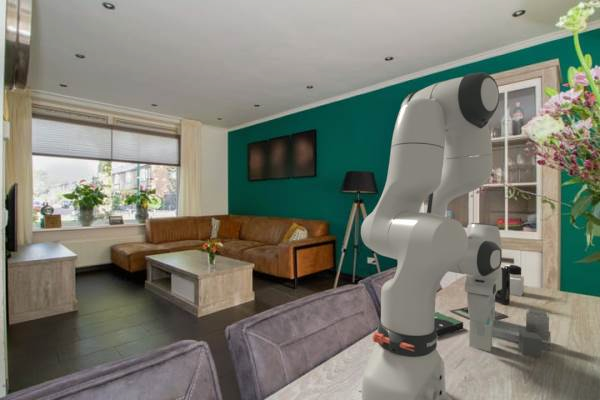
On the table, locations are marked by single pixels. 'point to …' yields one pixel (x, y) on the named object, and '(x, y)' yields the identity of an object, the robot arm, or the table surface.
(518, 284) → the medicine bottle
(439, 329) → the disk drive
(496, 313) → the calculator
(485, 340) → the block
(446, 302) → the table surface
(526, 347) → the block
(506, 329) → the rail
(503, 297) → the geiger counter
